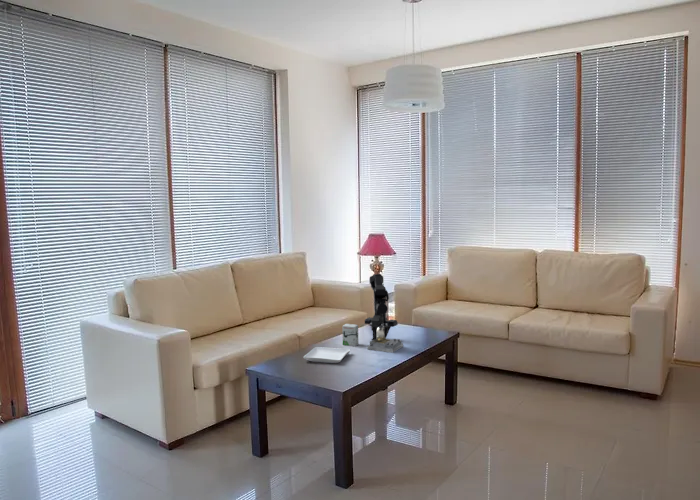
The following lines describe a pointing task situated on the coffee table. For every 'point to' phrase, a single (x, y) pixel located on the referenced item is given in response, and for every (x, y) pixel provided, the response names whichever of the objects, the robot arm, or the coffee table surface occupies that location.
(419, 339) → the coffee table surface
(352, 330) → the ink box
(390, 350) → the gearbox
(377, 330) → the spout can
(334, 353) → the salad plate
